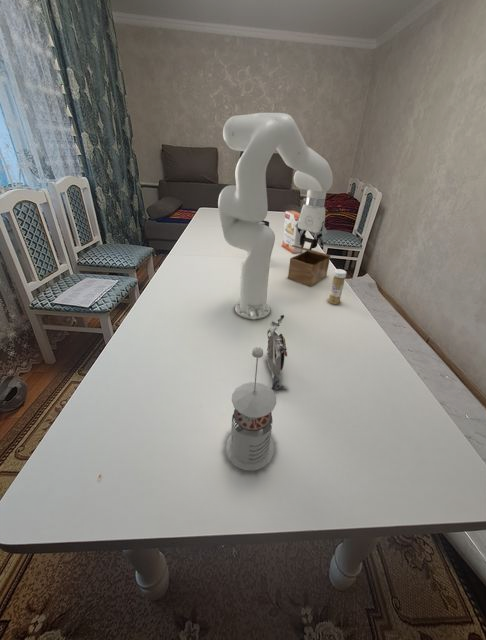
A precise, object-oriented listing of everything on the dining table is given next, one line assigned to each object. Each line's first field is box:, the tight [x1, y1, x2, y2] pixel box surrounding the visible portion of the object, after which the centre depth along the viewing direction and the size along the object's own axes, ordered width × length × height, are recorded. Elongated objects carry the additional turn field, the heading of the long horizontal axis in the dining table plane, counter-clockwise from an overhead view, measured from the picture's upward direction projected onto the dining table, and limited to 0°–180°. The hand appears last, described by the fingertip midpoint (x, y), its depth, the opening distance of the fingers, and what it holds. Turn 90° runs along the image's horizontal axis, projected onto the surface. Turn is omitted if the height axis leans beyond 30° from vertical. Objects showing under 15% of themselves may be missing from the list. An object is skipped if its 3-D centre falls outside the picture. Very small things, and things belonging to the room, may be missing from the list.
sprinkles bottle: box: [328, 268, 348, 305], centre depth 114 cm, size 5×5×14 cm
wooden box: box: [287, 250, 331, 287], centre depth 135 cm, size 16×12×10 cm
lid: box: [292, 236, 331, 258], centre depth 130 cm, size 16×12×5 cm
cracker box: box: [281, 210, 303, 254], centre depth 167 cm, size 14×6×21 cm, turn 25°
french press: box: [225, 347, 277, 471], centre depth 54 cm, size 10×12×25 cm
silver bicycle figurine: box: [266, 314, 288, 391], centre depth 77 cm, size 15×4×13 cm, turn 6°
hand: (307, 245), depth 126 cm, fingers closed on lid, 5 cm apart
